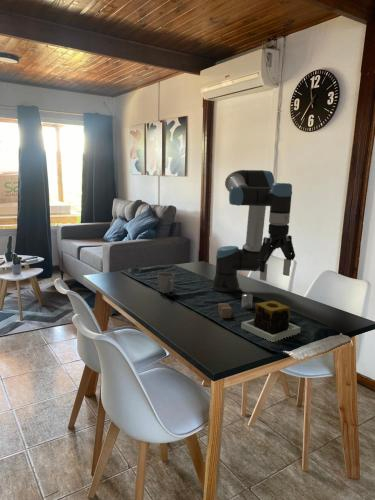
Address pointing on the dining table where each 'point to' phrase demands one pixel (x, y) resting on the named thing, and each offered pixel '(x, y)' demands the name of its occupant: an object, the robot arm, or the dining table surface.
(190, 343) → the dining table surface
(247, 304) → the grey tin
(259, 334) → the tray
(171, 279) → the mug
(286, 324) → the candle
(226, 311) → the walnut block
